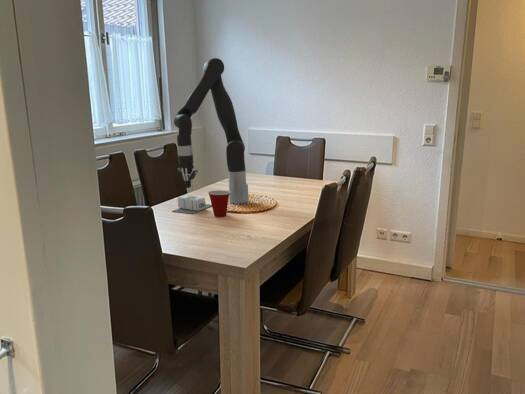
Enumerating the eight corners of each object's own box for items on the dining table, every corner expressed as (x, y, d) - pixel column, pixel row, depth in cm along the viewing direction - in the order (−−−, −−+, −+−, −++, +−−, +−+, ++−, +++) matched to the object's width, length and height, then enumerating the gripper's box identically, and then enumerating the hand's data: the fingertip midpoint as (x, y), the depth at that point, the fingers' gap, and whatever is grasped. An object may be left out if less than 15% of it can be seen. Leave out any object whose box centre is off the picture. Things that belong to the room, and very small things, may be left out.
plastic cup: (236, 214, 233) (235, 190, 230) (219, 219, 226) (217, 194, 223) (222, 211, 240) (220, 187, 238) (204, 216, 233) (203, 191, 230)
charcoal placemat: (213, 205, 253) (213, 204, 253) (192, 214, 237) (192, 213, 237) (193, 203, 259) (193, 202, 259) (172, 211, 244) (172, 211, 244)
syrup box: (178, 208, 249) (198, 211, 241) (176, 197, 248) (197, 200, 240) (185, 205, 254) (206, 208, 246) (184, 194, 252) (205, 197, 244)
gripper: (200, 153, 243) (202, 187, 247) (179, 152, 249) (182, 185, 253) (191, 155, 237) (194, 190, 241) (170, 154, 243) (173, 188, 247)
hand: (188, 187), depth 247 cm, fingers closed
